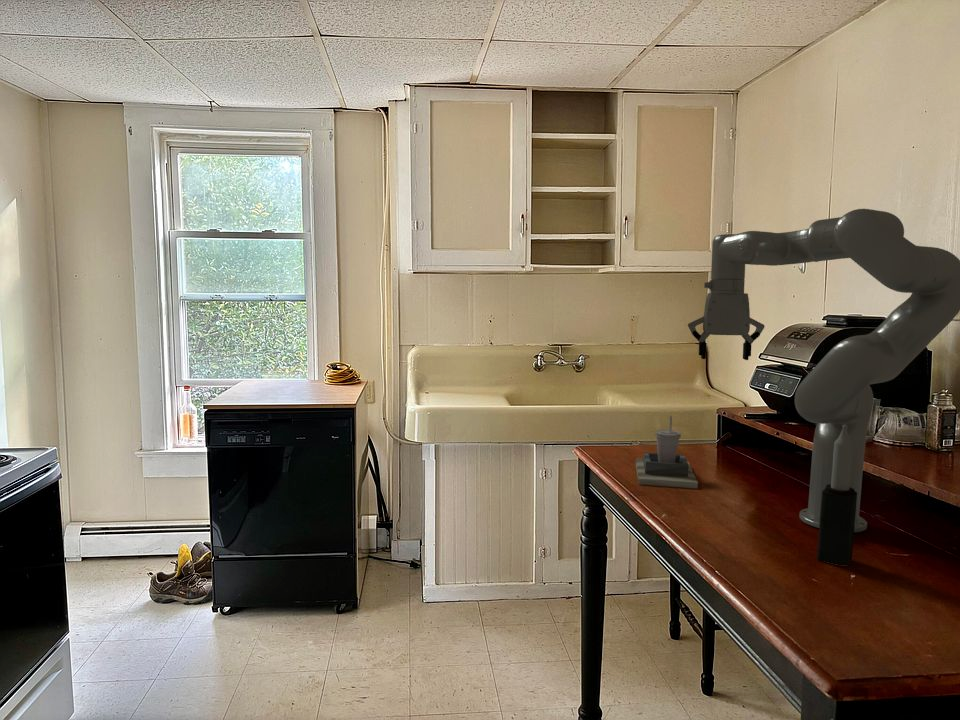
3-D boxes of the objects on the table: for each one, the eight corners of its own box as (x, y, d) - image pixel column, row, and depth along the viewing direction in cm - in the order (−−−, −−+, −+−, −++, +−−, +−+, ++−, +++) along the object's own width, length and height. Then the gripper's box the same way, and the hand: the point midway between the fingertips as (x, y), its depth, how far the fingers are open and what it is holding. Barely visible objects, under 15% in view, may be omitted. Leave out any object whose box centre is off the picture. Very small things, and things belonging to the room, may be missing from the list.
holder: (697, 488, 164) (698, 470, 163) (638, 484, 166) (639, 466, 166) (688, 467, 183) (688, 450, 183) (635, 463, 186) (636, 447, 185)
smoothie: (681, 472, 171) (684, 418, 169) (656, 472, 171) (659, 418, 170) (675, 465, 177) (677, 413, 176) (650, 465, 178) (653, 413, 176)
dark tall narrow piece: (822, 552, 126) (832, 420, 123) (852, 559, 122) (864, 424, 119) (815, 560, 122) (826, 424, 119) (846, 568, 118) (858, 428, 116)
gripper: (691, 287, 157) (688, 359, 159) (769, 287, 154) (766, 361, 156) (687, 287, 165) (685, 356, 166) (762, 287, 162) (759, 358, 163)
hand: (724, 359), depth 161 cm, fingers open, 9 cm apart
